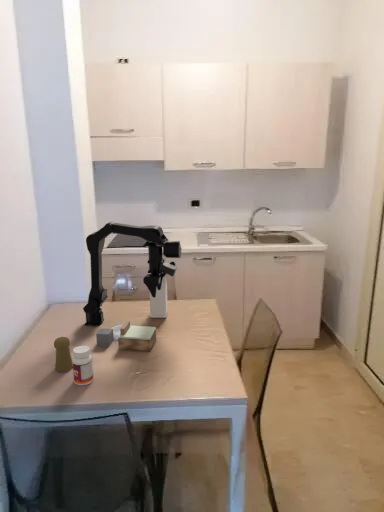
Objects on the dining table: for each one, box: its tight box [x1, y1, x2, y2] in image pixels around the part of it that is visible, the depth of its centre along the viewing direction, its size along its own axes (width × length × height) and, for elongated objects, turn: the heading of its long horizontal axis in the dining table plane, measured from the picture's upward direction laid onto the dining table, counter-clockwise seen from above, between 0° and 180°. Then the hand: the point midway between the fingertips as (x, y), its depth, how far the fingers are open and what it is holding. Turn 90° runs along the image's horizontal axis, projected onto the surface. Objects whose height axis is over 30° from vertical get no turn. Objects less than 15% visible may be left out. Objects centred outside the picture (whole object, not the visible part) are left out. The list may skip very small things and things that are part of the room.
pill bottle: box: [71, 345, 94, 386], centre depth 132 cm, size 6×6×11 cm
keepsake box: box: [117, 328, 157, 353], centre depth 157 cm, size 12×10×4 cm
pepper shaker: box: [53, 336, 73, 373], centre depth 140 cm, size 6×6×11 cm
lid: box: [117, 320, 157, 340], centre depth 156 cm, size 12×10×3 cm
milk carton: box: [149, 274, 168, 319], centre depth 184 cm, size 7×7×19 cm
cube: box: [95, 327, 115, 347], centre depth 159 cm, size 5×5×5 cm
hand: (156, 293), depth 170 cm, fingers open, 9 cm apart
